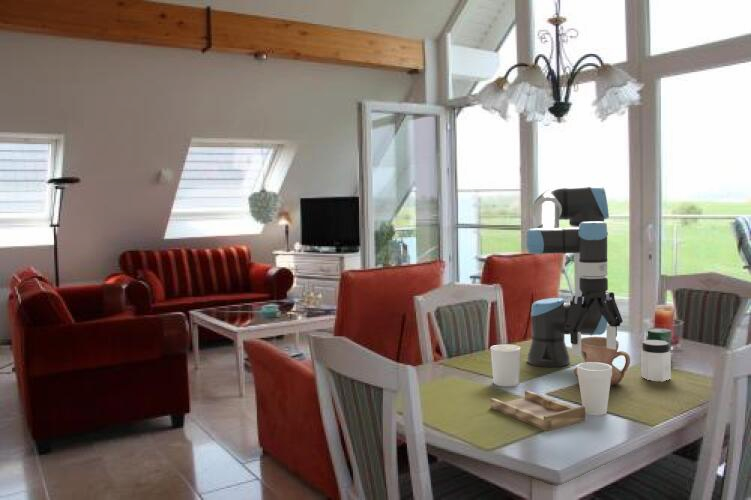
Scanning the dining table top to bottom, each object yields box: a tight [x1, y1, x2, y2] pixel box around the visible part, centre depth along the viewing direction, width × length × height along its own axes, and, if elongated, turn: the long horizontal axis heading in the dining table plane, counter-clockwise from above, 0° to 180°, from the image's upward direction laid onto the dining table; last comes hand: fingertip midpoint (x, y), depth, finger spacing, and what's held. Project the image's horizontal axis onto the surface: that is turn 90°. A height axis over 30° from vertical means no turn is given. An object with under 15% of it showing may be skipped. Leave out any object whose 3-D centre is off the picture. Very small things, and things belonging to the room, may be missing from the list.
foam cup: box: [576, 361, 612, 416], centre depth 182 cm, size 10×9×13 cm
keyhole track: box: [490, 389, 586, 432], centre depth 182 cm, size 23×14×4 cm, turn 28°
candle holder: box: [489, 343, 522, 388], centre depth 213 cm, size 10×10×12 cm
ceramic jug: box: [571, 336, 631, 387], centre depth 208 cm, size 18×14×14 cm
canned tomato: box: [646, 327, 672, 352], centre depth 235 cm, size 8×8×11 cm
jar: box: [640, 339, 672, 383], centre depth 212 cm, size 9×8×12 cm
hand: (594, 352), depth 181 cm, fingers open, 13 cm apart
